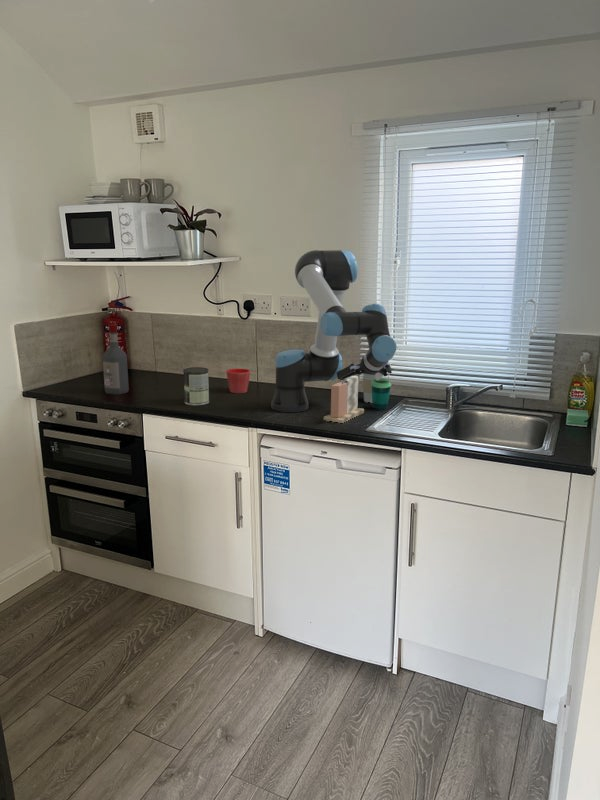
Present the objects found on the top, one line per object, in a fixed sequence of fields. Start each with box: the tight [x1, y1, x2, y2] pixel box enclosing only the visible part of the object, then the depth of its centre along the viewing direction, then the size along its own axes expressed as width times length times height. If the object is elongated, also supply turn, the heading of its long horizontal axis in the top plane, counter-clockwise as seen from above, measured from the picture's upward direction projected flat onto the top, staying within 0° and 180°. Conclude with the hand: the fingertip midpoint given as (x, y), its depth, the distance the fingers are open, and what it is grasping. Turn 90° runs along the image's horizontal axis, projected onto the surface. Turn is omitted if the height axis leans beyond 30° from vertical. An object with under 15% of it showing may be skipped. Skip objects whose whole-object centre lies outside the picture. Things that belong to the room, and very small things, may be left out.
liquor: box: [102, 324, 130, 396], centre depth 271 cm, size 9×9×30 cm
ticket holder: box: [323, 375, 365, 424], centre depth 238 cm, size 19×8×14 cm, turn 149°
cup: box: [371, 377, 392, 410], centre depth 251 cm, size 8×8×12 cm
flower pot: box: [226, 368, 251, 394], centre depth 277 cm, size 11×11×10 cm
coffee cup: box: [362, 373, 384, 404], centre depth 262 cm, size 9×9×15 cm
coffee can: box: [182, 366, 210, 406], centre depth 257 cm, size 10×10×14 cm
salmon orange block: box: [330, 381, 347, 417], centre depth 233 cm, size 7×3×12 cm, turn 149°
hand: (359, 378), depth 229 cm, fingers open, 13 cm apart
